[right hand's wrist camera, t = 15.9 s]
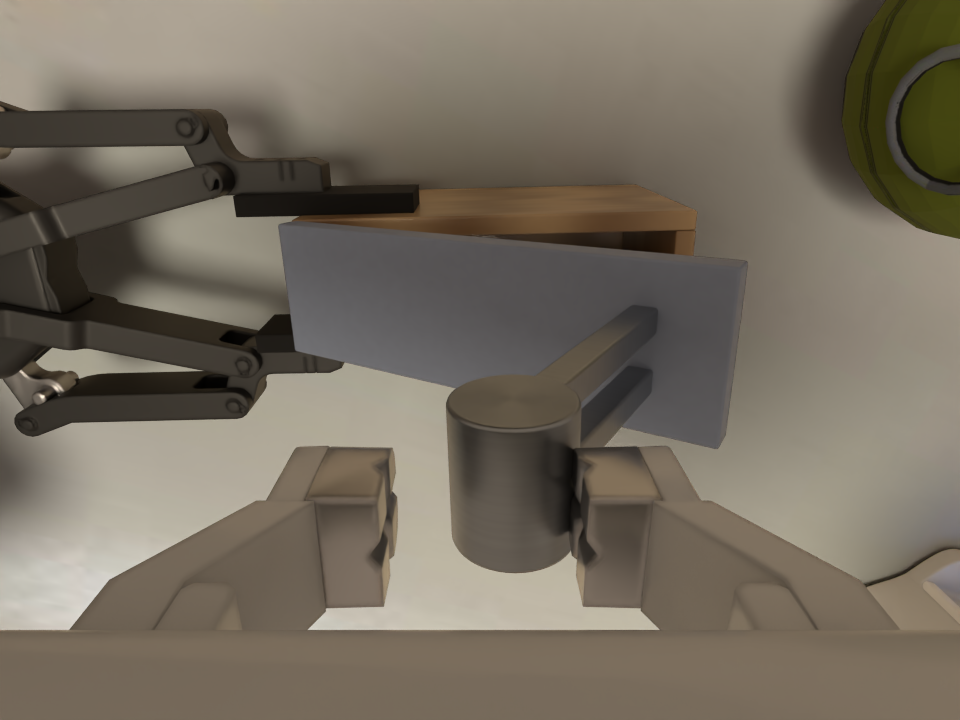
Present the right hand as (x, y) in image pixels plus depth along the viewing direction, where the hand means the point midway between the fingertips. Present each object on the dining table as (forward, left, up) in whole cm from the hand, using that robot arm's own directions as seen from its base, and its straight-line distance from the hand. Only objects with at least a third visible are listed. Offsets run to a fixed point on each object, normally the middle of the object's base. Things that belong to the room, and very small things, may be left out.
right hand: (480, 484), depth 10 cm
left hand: (+2, +1, -16) cm, 16 cm away
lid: (0, 0, -10) cm, 10 cm away
